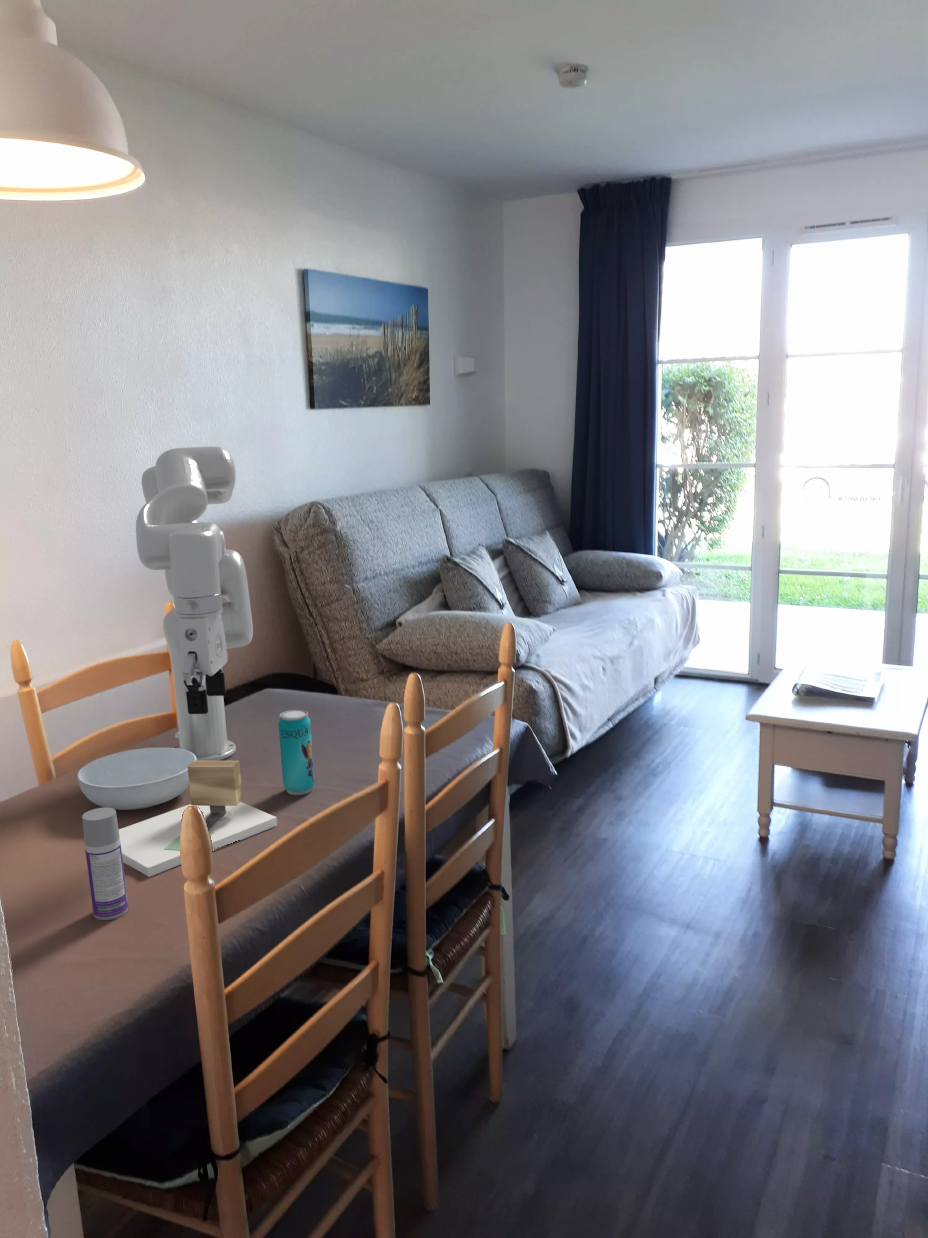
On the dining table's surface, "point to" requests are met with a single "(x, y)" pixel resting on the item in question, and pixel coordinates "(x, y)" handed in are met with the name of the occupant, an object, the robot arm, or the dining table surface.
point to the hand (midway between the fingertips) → (207, 704)
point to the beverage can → (296, 752)
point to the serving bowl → (136, 777)
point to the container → (105, 863)
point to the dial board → (159, 837)
